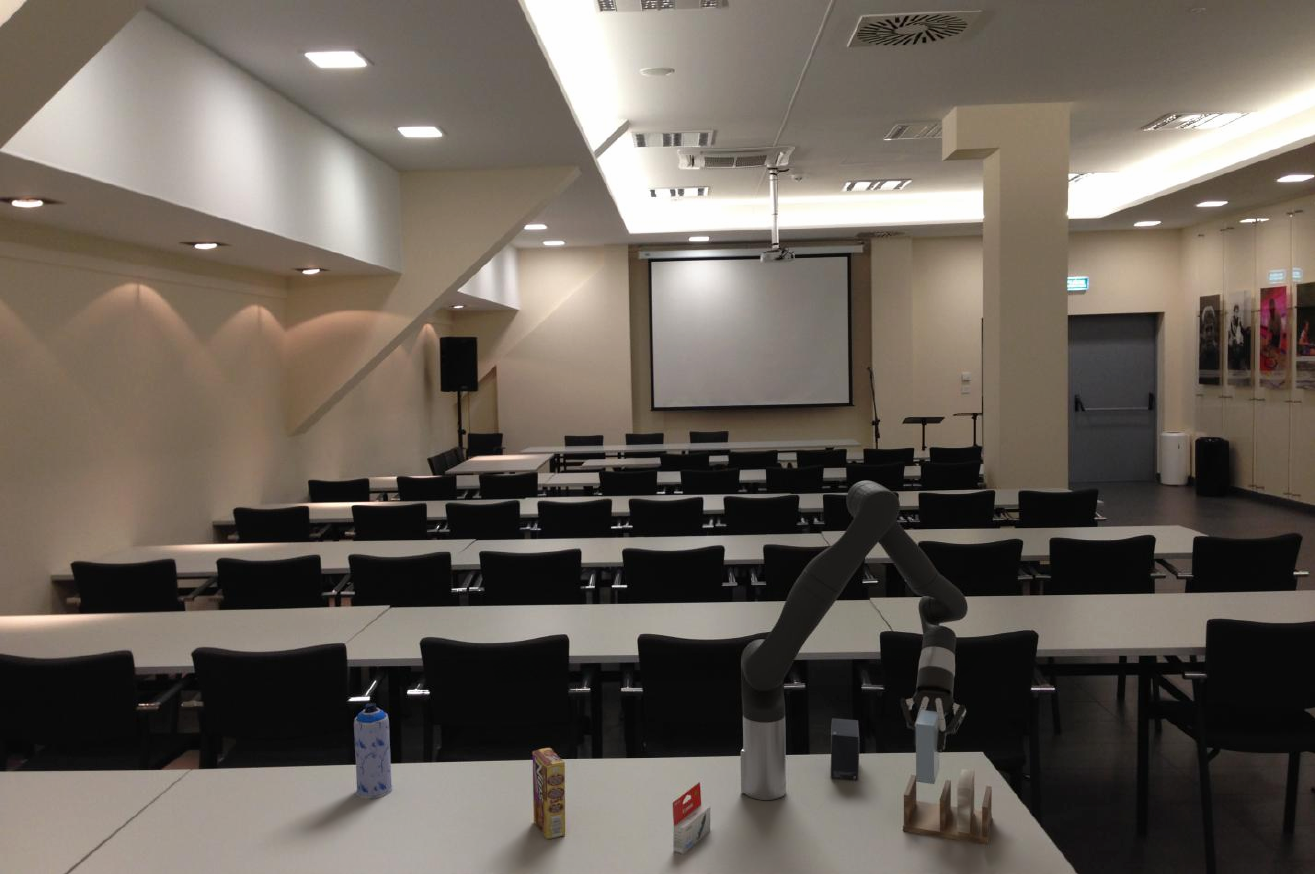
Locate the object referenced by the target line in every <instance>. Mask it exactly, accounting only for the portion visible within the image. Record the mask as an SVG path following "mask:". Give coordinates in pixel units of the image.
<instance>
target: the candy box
mask: <svg viewBox="0 0 1315 874" xmlns="http://www.w3.org/2000/svg"><path fill="white" fill-rule="evenodd" d="M565 767H566V765H565V761H564V760H563V759H562V758H561V757H560V756H559V755H558V754H557V753H556V752H555V751H554V750H553V749H552V748H551V747H545V748H540V749H535V750H533V751H532V797H533V799H532V801H533V802H532V803H533V805H532V806H533V807H532V808H533V823H534V824H535V826H537V828H538V829H539V831H540V832H541V833H542V835H544V837H545V838H546V840H550V839H555V838H556V839H557V838H560V837H562V836H563V837H564V836H566V790H565V789H566V778H565V777H566V773H565V772H566V768H565Z"/></svg>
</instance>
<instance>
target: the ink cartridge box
mask: <svg viewBox="0 0 1315 874" xmlns="http://www.w3.org/2000/svg"><path fill="white" fill-rule="evenodd" d="M701 791H702V790H701V782H700V781H698V782H697V783H696V784H695V785H693V786H692V787H690V789H689V790H687V791H686V792H684V793H683V794H682V795H680V796H679V797H678V798H677V799H676V800H674V801H673V802H672V803H671V804H672V818H673V831H672V832H673V833H672V834H673V839H672V841H673V842H672V843H673V846H672V847H673V851H674V852H676V853H680V854H684V853H685V852H687V851H688V850H690V849H691V848H692V847H693V846H695V844H696V843H697V842H699V841H700V840H701V839H702V838H704V837H705V835H707V834H708V833H709V832H711V806H708V805H704V804H702V794H701V793H702V792H701ZM687 796H690V798H689V800H687V801H686V802H684V801H685V799H686V798H687Z"/></svg>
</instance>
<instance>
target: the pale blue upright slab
mask: <svg viewBox="0 0 1315 874" xmlns="http://www.w3.org/2000/svg"><path fill="white" fill-rule="evenodd" d="M916 720H917V722H916V721H915V722H916V746H915V775H916V783H922V784H930V785H935V784H936V780H937V777H938V774H939V771H940V752H938V751H937V741H938V731H939V729H940V728H939V712H935V711H927V710H921V713H920V715H919V717H918V719H917V718H916Z"/></svg>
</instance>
